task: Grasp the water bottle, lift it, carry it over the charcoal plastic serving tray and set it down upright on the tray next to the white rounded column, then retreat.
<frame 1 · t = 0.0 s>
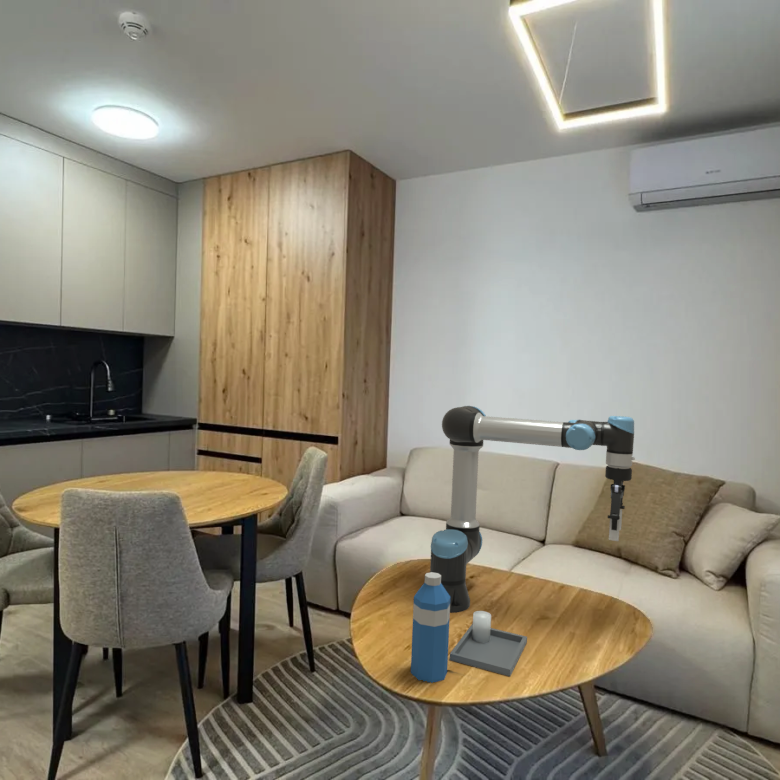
hand: (615, 534, 172), 28 cm above the table, fingers open, 13 cm apart
white rounded column: (481, 638, 158), point 1 cm above the table, touching tray
tray: (489, 653, 152), on the table
water bottle: (428, 673, 141), on the table
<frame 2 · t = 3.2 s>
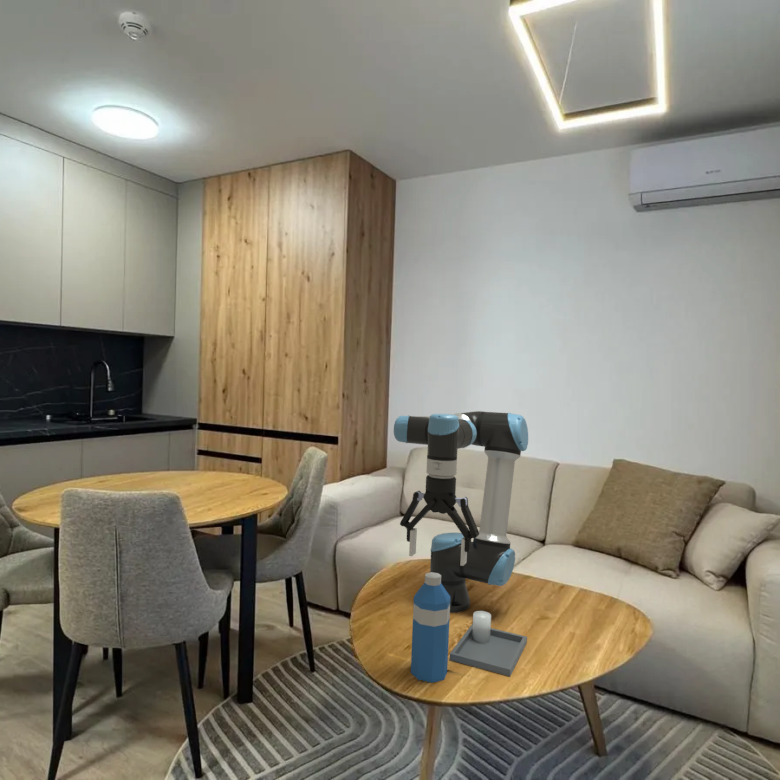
hand: (437, 559, 140), 29 cm above the table, fingers open, 13 cm apart
nothing on the table moved.
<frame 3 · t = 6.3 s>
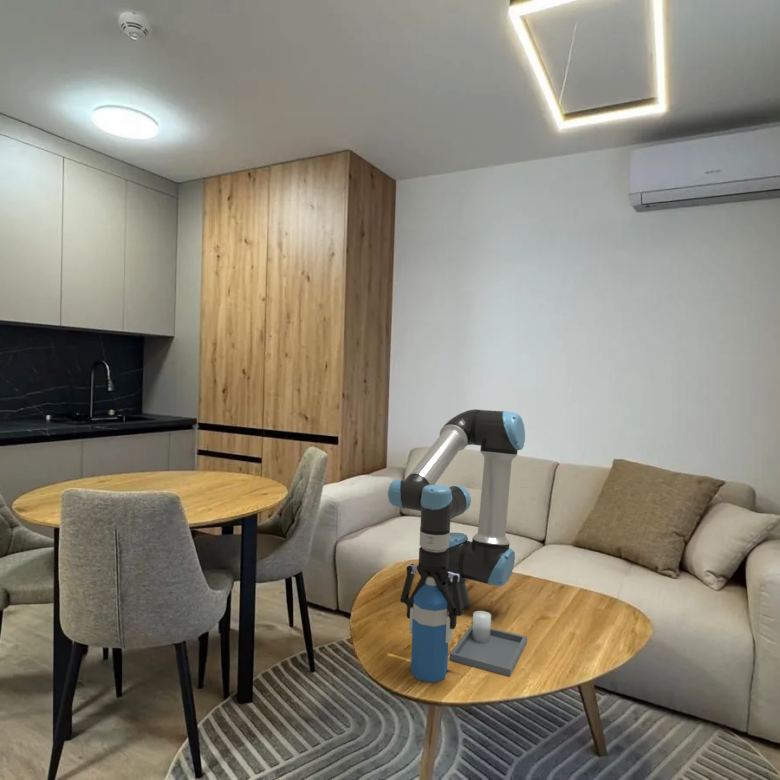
hand: (430, 635, 141), 9 cm above the table, fingers closed on water bottle, 9 cm apart
water bottle: (428, 673, 141), on the table, touching gripper
everything else where it was.
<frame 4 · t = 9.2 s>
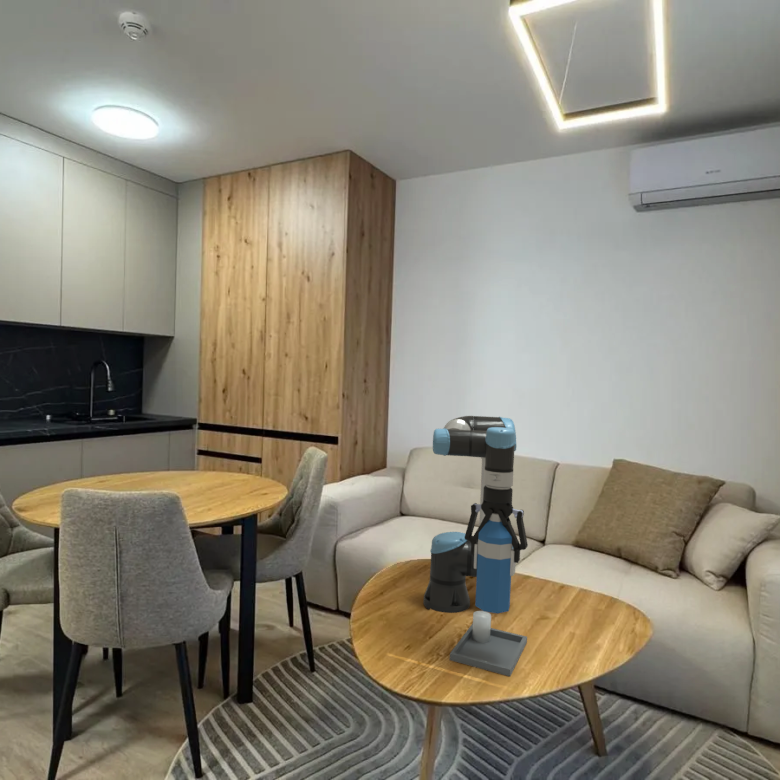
hand: (494, 570, 148), 24 cm above the table, fingers closed on water bottle, 9 cm apart
water bottle: (492, 606, 148), point 14 cm above the table, touching gripper
everything else where it was.
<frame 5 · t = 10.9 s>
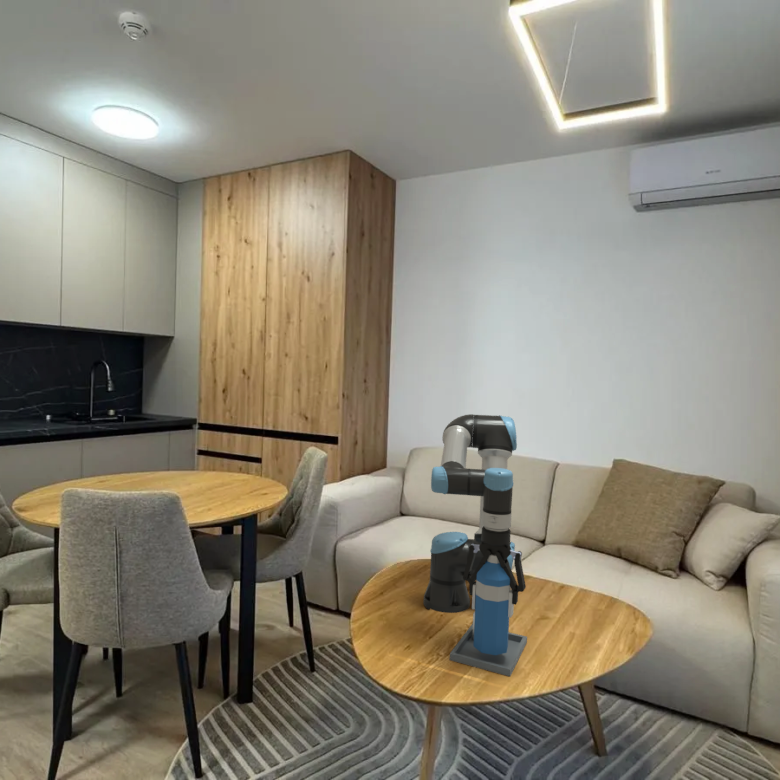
hand: (492, 611, 148), 13 cm above the table, fingers closed on water bottle, 9 cm apart
water bottle: (490, 647, 148), point 3 cm above the table, touching gripper
everything else where it was.
when the fingers open (12 cm above the table, at t = 12.1 s): water bottle drops 2 cm, resting on tray.
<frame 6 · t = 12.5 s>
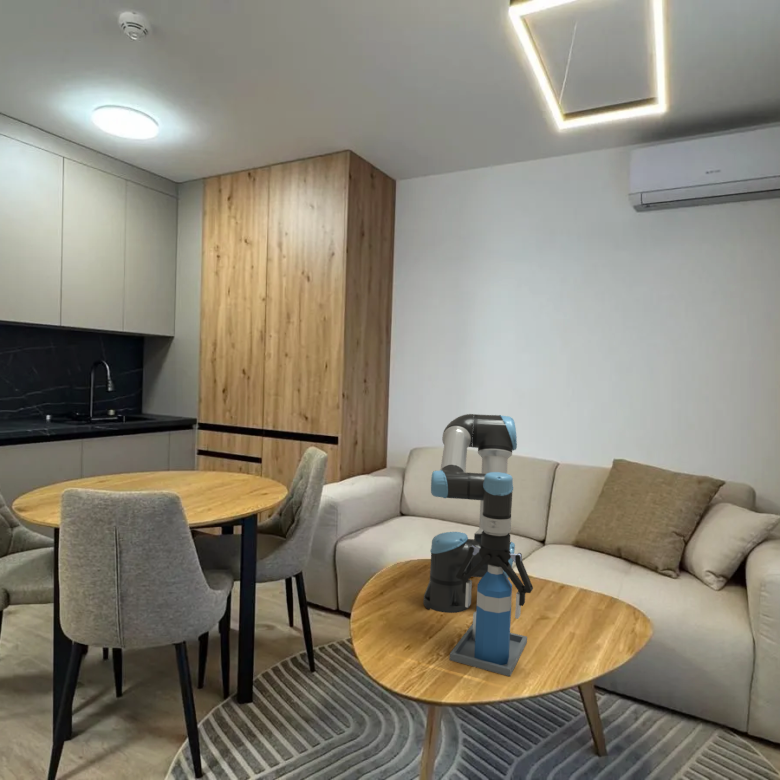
hand: (492, 611, 148), 13 cm above the table, fingers open, 13 cm apart
water bottle: (491, 657, 148), point 1 cm above the table, touching tray
everything else where it was.
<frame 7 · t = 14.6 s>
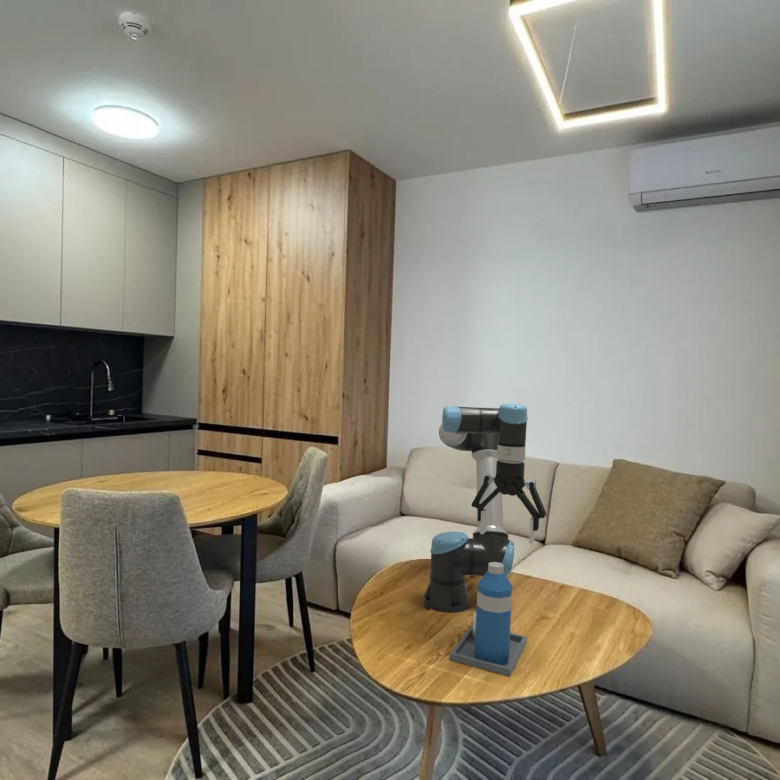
hand: (506, 537, 153), 31 cm above the table, fingers open, 13 cm apart
nothing on the table moved.
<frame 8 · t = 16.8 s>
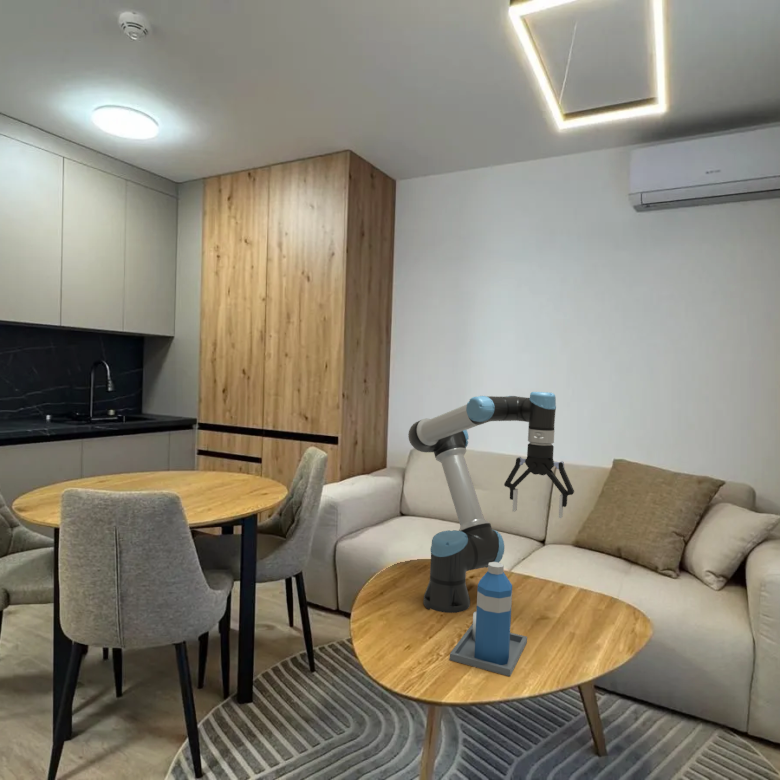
hand: (537, 513, 167), 35 cm above the table, fingers open, 13 cm apart
nothing on the table moved.
at the end: water bottle inside the target area on the tray (3.3 cm from its centre), point 0.6 cm above the tray's base; water bottle tilted 0°; the gripper is holding nothing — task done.
